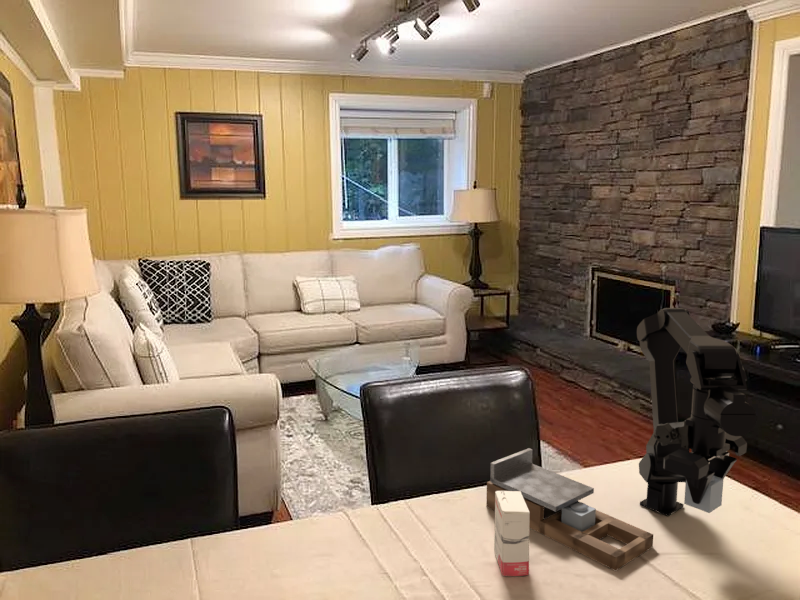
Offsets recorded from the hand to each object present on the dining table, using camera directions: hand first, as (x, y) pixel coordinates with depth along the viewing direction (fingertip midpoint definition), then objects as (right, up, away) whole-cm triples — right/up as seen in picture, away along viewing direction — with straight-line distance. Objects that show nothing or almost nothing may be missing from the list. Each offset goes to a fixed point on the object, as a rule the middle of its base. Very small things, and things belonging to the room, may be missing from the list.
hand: (703, 498), depth 117 cm
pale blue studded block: (-20, -10, +10) cm, 24 cm away
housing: (-22, -9, +12) cm, 27 cm away
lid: (-25, -3, +16) cm, 30 cm away
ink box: (-34, -12, 0) cm, 36 cm away
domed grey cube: (0, -1, 0) cm, 1 cm away
